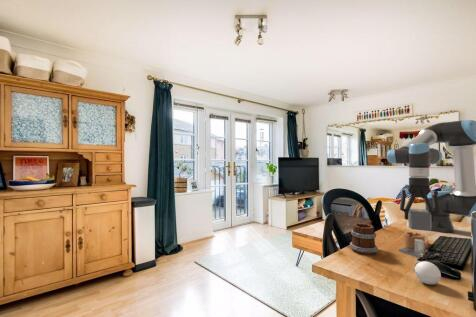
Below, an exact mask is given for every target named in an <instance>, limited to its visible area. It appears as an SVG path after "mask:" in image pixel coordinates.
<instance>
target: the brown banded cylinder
mask: <svg viewBox="0 0 476 317" xmlns="http://www.w3.org/2000/svg"><path fill="white" fill-rule="evenodd" d="M372 222H373V221H372V220H370V219H369V220H367V222H366V223H360V222H359V223H357V222H356V223H353V226H352V229H351V231H350V232H351V233H350V235H352V238H351V239H352V240H351V242H349V247H350V249H352V250H353V251H352V250H351V251H352V252H354V253H356V252H357V253H356V254H359V255H363V254H364V256H371V255H375V254H376V253H377V251H378V249H379V247H378V246H377V245H376V241H375V238H377V234H376V232H375V227H374V226H373V225H372Z"/></svg>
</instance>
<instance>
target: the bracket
mask: <svg viewBox="0 0 476 317" xmlns="http://www.w3.org/2000/svg"><path fill="white" fill-rule="evenodd" d="M415 239H419V240H423V241H424V249H426V248H428V246H429V239H428V238H426V237H425V235H424V234H423V233H419V232H415V233H413V231H404V232H403V248H406V247H412V248H415ZM426 250H427V249H426Z"/></svg>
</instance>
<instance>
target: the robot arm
mask: <svg viewBox="0 0 476 317" xmlns="http://www.w3.org/2000/svg"><path fill="white" fill-rule="evenodd" d="M441 143H445V144H446V143H448V147H449V148H451V150H452V160H453V162H452V163H453V175H454V188H455V189H454V190H453V191H452V193H451V191H449V190H448V191H447V190H439V191H438V190H433V189H431V188H430V178H429V177H430V165H436V164H438V163H440V162H441V161H442V160H443V153H442V151H441V150H439V149H437V148H433V147H432V148H430V146H433V145H434V144H441ZM475 146H476V120H473V119H464V120H463V119H462V120H455V121H446V122H445V121H444V122H438V123H435V124H432V125H430V126H427V127H425V128H423V129H422V130H421V131H420V132H419V133H418V134H417V136H415V137H414V138H412V139H411V140H409V141H408V142H406V143H404V144H403V145H402V146H401V147H398V148H396V149H389V150H388V151H387V152H386V160H387V162H388V163H390V164H395V165H400V164H401V165H403V164H405V165H408V176H409V177H408V188H405V189H400V192H401V198H400V205H399V210H400V211H401V212H404V219H405V220H406V227H407V228H410V213H409V210H410V209H412V208H411V207H412V205H413V203H414V202H415V199H416V198H417V199H418V198H420V199H423V202H424V204H425V210H427V211H429V212H430V213H431V231H433V232H438V233H439V232H440V233H453V232H454V231H455V229H454V228H455V227H454V225H453V222H452V219H451V215H455V216H461V217H468V218H472V217H471V213H472V212H473V211H476V170H475V155H474V147H475ZM408 192H409V194H410V196H409V199H408V201H407V204H406V200H407V199H406V197H407V194H408ZM410 229H411V228H410Z"/></svg>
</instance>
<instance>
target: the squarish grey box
mask: <svg viewBox="0 0 476 317" xmlns="http://www.w3.org/2000/svg"><path fill="white" fill-rule="evenodd" d="M409 213H410V229H411V230H414V231H423V232H424V231H425V232H431V231H432V230H431V213H430V212H429V211H427V210H426V209H421V208H418V209H417V208H410V210H409Z"/></svg>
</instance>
